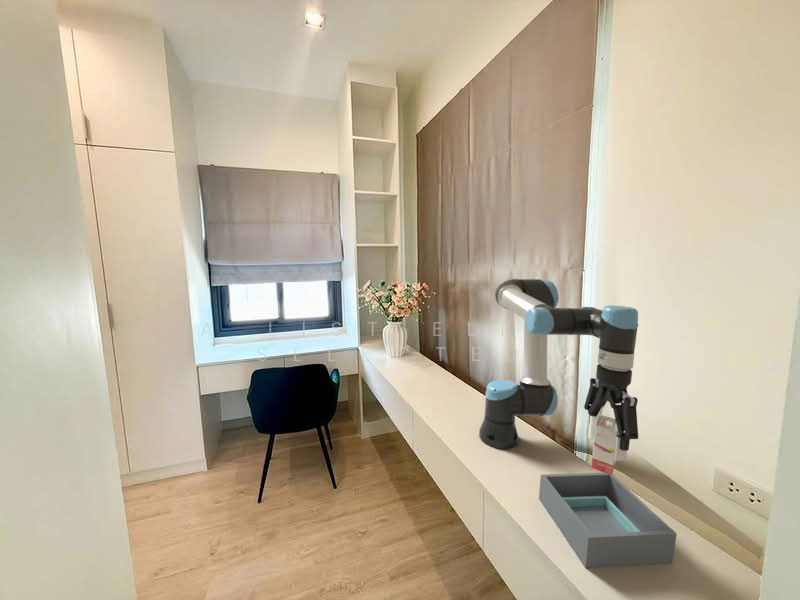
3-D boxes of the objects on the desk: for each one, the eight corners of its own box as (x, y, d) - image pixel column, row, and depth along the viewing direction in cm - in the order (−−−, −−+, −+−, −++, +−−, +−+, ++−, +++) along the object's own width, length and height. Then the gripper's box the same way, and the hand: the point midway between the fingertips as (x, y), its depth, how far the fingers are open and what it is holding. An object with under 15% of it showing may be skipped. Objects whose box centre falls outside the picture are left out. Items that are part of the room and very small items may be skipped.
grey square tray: (538, 498, 98) (540, 474, 97) (607, 496, 99) (610, 472, 98) (585, 567, 76) (588, 537, 75) (672, 563, 78) (676, 533, 77)
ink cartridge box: (613, 476, 81) (619, 421, 79) (590, 468, 84) (596, 414, 82) (617, 460, 87) (622, 409, 86) (596, 453, 90) (601, 403, 89)
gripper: (574, 354, 93) (567, 427, 96) (634, 382, 71) (623, 476, 74) (599, 354, 93) (591, 427, 96) (666, 382, 72) (654, 475, 75)
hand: (605, 448), depth 85 cm, fingers closed on ink cartridge box, 9 cm apart
